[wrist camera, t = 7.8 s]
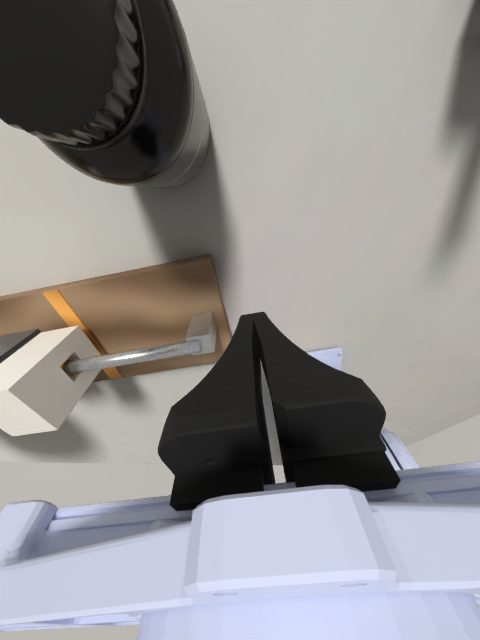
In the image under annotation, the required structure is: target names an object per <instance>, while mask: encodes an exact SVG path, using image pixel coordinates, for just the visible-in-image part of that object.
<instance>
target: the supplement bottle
mask: <svg viewBox="0 0 480 640" xmlns="http://www.w3.org/2000/svg"><path fill="white" fill-rule="evenodd" d="M0 118H1V119H2V120H3V121H4V122H5V123H7V124H8V125H10V126H12V127H15V128H18V129H21V130H25V131H26V132H28V133H30V134H32V135H34V136H37V137H38V138H39V139H40V140H41V141H42V142H43V143H44V144H45V145H46V146H47V147H48V148H49V149H50V150H51V151H52V152H53V153H54V154H56V155H57V156H58V157H59V158H60V159H62V160H63V161H64V162H66V163H67V164H68V165H70V166H72V167H73V168H75V169H76V170H78V171H80V172H82V173H83V174H85V175H87V176H89V177H92V178H94V179H97V180H100V181H103V182H107V183H111V184H116V185H124V186H147V187H174V186H178V185H181V184H183V183H185V182H187V181H189V180H190V179H191V178H192V177H194V176H195V174H196V173H197V172H198V171H199V169H200V168H201V166H202V164H203V162H204V160H205V157H206V154H207V150H208V145H209V120H208V114H207V109H206V105H205V101H204V98H203V94H202V91H201V87H200V84H199V80H198V77H197V74H196V70H195V67H194V63H193V60H192V56H191V53H190V49H189V46H188V43H187V39H186V36H185V32H184V30H183V27H182V24H181V21H180V18H179V15H178V12H177V10H176V8H175V5H174V3H173V0H0Z"/></svg>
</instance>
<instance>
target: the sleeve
mask: <svg viewBox="0 0 480 640" xmlns="http://www.w3.org/2000/svg"><path fill="white" fill-rule="evenodd" d="M99 355H101V354H100V353H99V352H98V350H97V349H96V348H95V347H94V345H93V344H92V343H91V341H90V340H89V339H88V337H87V336H86V335H85V333H84V332H83V331H82V329H81V328H80V327H79V326H73V327H68V328H62V329H57V330H51V331H46V332H41V333H40V334H38V335H37V336H36V337H34V338H33V339H32V340H30V341H29V342H28V343H27V344H25V345H24V346H23V347H21V348H20V349H19V350H17V351H16V352H15V353H13V354H12V355H11V356H10V357H8V358H7V359H6V360H4V361H3V362H2V363H0V429H2V430H3V431H5V432H6V433H8V434H9V435H11V436H19V435H26V434H33V433H41V432H48V431H55V430H58V429H59V428H60V426H61V425H62V423H63V422H64V421H65V419H66V418H67V416H68V415H69V414H70V412H71V411H72V409H73V408H74V407H75V405H76V404H77V402H78V401H79V400H80V398H81V397H82V395H83V394H84V393H85V391H86V390H87V388H88V387H89V386H90V384H91V383H92V382H93V380H94V379H95V377H96V376H97V375H98V373H99V372H100V370H101V369H96V370H90V371H84V372H78V373H73V374H71V375H67V374H66V373H65V372H64V371H63V370H62V369H61V368H60V366H61V365H62V364H63V363H64V362H65V361H66V360H76V359H82V358H87V357H93V356H99Z"/></svg>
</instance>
